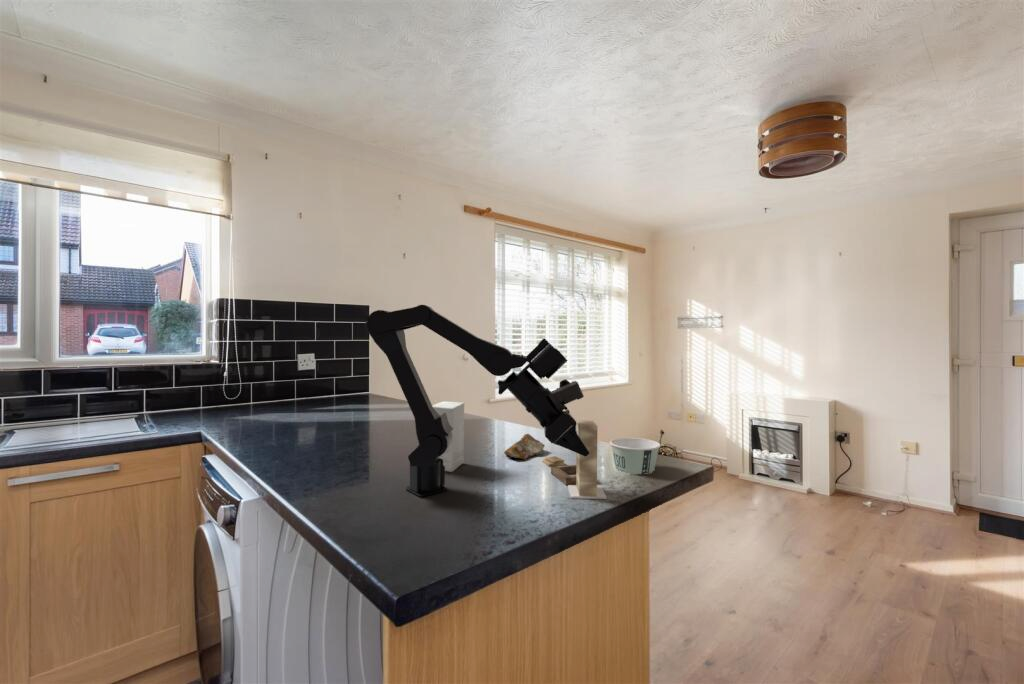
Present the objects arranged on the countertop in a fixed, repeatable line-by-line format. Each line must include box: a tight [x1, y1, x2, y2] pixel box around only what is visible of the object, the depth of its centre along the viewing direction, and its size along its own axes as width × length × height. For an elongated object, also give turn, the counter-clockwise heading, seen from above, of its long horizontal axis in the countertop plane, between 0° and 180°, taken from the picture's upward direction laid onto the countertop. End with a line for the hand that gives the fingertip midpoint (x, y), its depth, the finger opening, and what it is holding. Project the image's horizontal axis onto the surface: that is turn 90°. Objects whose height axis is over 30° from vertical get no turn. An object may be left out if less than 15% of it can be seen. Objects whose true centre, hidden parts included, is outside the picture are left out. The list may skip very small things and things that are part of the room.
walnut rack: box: [550, 464, 576, 486], centre depth 107 cm, size 7×9×2 cm
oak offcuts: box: [542, 455, 565, 468], centre depth 118 cm, size 4×5×1 cm
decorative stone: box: [503, 433, 545, 461], centre depth 127 cm, size 10×4×15 cm
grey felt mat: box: [567, 485, 607, 500], centre depth 97 cm, size 7×7×1 cm
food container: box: [609, 437, 662, 475], centre depth 114 cm, size 12×12×6 cm
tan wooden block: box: [575, 420, 598, 496], centre depth 96 cm, size 4×6×14 cm, turn 178°
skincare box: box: [432, 401, 465, 473], centre depth 115 cm, size 8×7×16 cm
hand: (584, 449), depth 96 cm, fingers open, 9 cm apart
